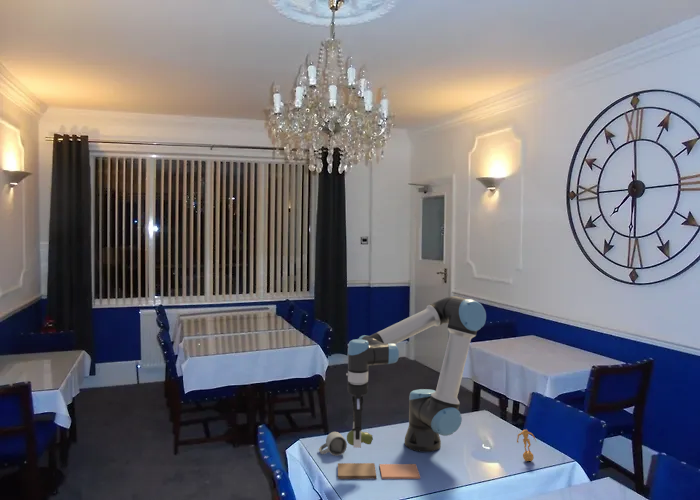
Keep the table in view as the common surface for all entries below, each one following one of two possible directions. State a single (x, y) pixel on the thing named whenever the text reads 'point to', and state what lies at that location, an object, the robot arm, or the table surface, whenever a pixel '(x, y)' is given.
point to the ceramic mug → (334, 444)
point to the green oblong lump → (365, 437)
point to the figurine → (527, 454)
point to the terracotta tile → (399, 471)
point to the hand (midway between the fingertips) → (356, 443)
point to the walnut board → (356, 471)
